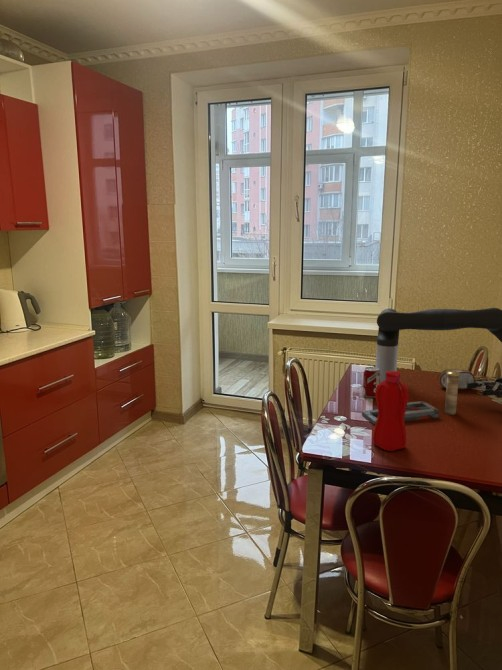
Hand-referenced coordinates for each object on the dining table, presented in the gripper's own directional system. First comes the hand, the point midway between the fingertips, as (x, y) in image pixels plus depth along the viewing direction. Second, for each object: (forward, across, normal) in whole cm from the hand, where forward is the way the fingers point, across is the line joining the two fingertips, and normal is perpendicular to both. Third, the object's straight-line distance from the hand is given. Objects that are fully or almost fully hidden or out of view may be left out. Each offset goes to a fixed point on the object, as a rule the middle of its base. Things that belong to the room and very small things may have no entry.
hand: (475, 389), depth 182 cm
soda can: (+30, -25, +9) cm, 40 cm away
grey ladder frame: (+30, -2, +8) cm, 31 cm away
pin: (+10, 0, +8) cm, 13 cm away
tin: (-10, -24, +9) cm, 27 cm away
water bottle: (+46, +20, +9) cm, 51 cm away
